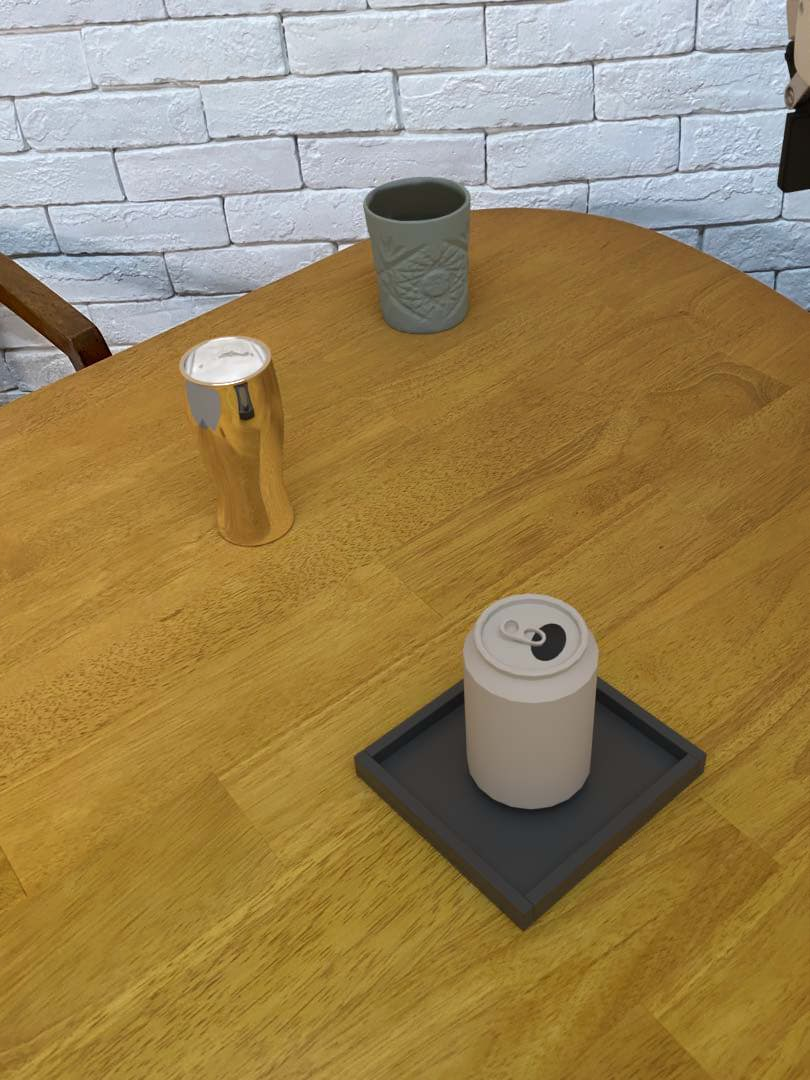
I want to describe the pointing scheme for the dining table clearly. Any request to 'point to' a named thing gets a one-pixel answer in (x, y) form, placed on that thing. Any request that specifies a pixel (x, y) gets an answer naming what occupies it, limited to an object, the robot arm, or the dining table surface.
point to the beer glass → (239, 435)
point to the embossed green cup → (420, 252)
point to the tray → (529, 834)
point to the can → (530, 700)
